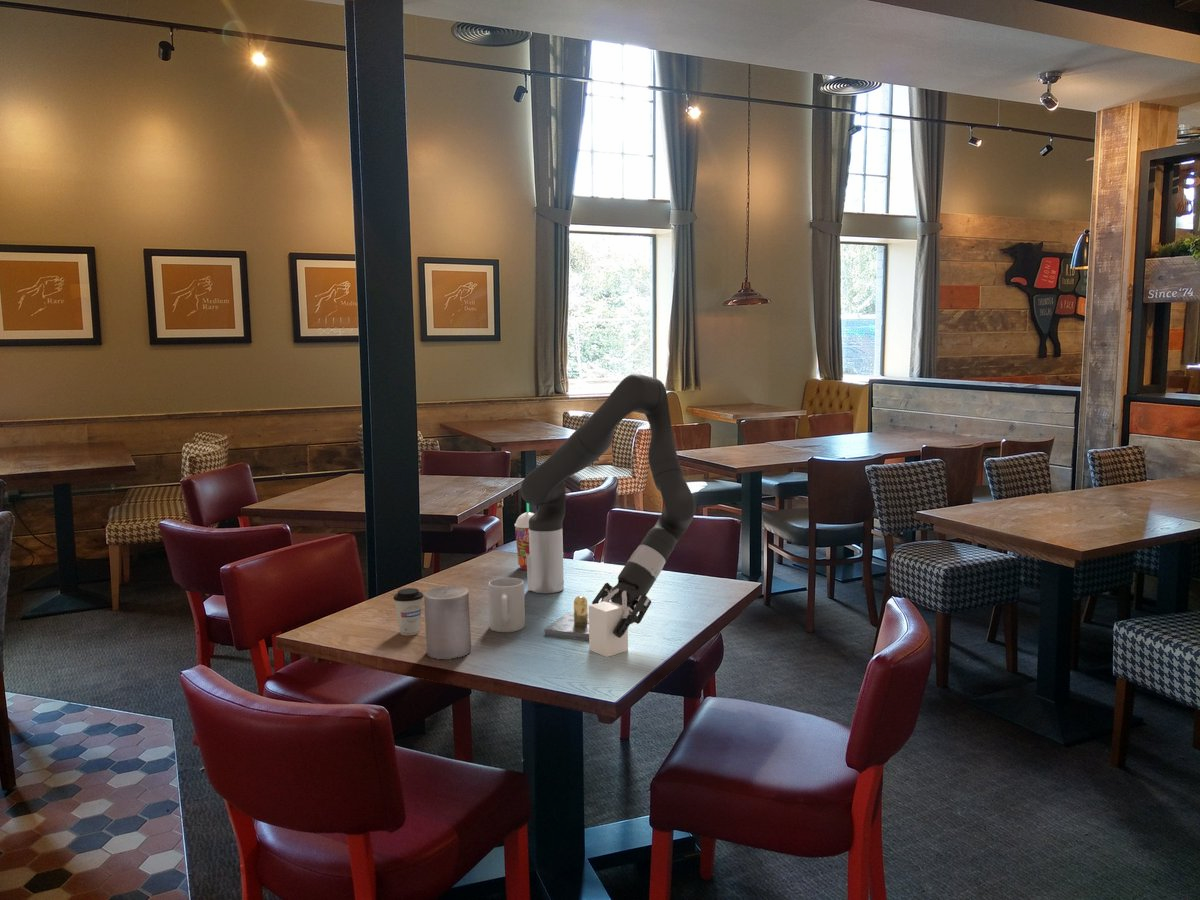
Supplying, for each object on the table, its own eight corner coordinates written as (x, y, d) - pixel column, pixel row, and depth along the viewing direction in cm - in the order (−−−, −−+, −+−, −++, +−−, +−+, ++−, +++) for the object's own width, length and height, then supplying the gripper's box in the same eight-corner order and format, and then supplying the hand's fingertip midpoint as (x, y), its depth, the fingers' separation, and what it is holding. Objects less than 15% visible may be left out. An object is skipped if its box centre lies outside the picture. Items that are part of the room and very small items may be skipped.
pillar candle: (439, 643, 190) (436, 578, 189) (479, 646, 188) (475, 581, 186) (418, 658, 181) (414, 591, 179) (459, 662, 178) (456, 593, 177)
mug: (491, 621, 205) (489, 577, 204) (526, 620, 205) (524, 576, 204) (486, 638, 193) (484, 591, 192) (523, 637, 193) (522, 590, 192)
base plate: (544, 635, 194) (543, 601, 193) (566, 618, 206) (565, 586, 205) (596, 641, 189) (596, 606, 189) (616, 623, 202) (615, 591, 201)
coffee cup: (393, 629, 200) (391, 588, 199) (422, 625, 203) (420, 585, 202) (396, 638, 194) (394, 596, 193) (427, 634, 196) (425, 593, 195)
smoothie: (510, 568, 256) (508, 504, 254) (530, 563, 262) (528, 500, 260) (528, 572, 251) (526, 506, 248) (549, 567, 257) (547, 503, 254)
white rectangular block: (589, 649, 184) (588, 605, 183) (610, 643, 188) (609, 600, 187) (606, 657, 180) (605, 611, 178) (628, 650, 183) (627, 606, 182)
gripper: (612, 554, 192) (573, 614, 186) (654, 566, 181) (615, 629, 175) (630, 573, 196) (592, 632, 190) (672, 585, 185) (634, 648, 179)
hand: (603, 630), depth 182 cm, fingers open, 8 cm apart
